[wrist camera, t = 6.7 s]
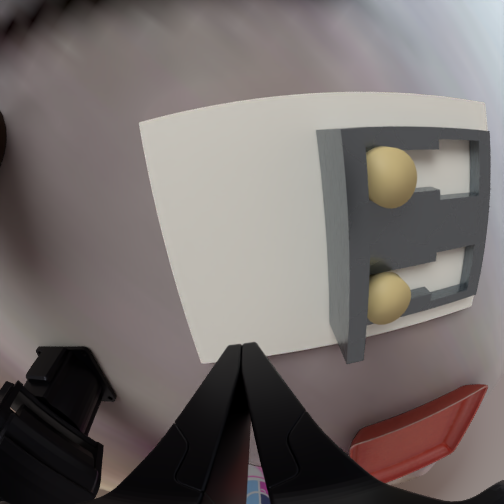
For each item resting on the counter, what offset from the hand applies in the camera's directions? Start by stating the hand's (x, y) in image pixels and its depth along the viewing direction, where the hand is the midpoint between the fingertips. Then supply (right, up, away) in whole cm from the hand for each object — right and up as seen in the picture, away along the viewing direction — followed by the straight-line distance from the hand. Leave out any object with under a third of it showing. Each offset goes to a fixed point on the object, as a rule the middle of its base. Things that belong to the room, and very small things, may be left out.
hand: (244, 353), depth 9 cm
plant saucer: (+21, -21, +21) cm, 36 cm away
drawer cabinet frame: (+10, +5, +8) cm, 14 cm away
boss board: (+6, +5, +9) cm, 12 cm away
